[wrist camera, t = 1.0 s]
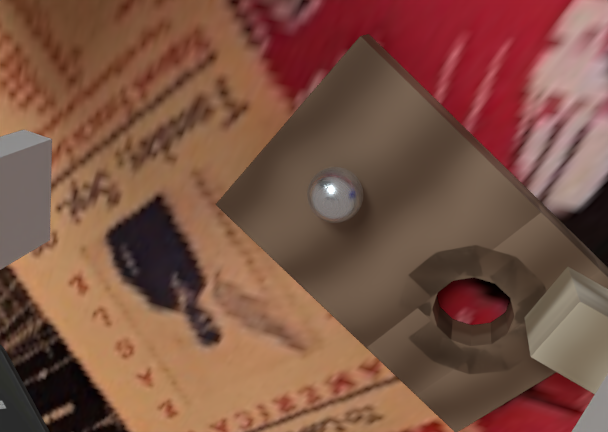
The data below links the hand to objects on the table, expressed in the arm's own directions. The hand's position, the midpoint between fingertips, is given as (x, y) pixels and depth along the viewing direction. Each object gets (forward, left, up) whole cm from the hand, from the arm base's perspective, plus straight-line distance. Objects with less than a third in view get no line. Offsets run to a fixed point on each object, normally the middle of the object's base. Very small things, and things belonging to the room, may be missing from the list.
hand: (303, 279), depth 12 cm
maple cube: (+15, -1, -20) cm, 25 cm away
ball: (0, -6, -18) cm, 19 cm away
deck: (+6, -6, -22) cm, 24 cm away
